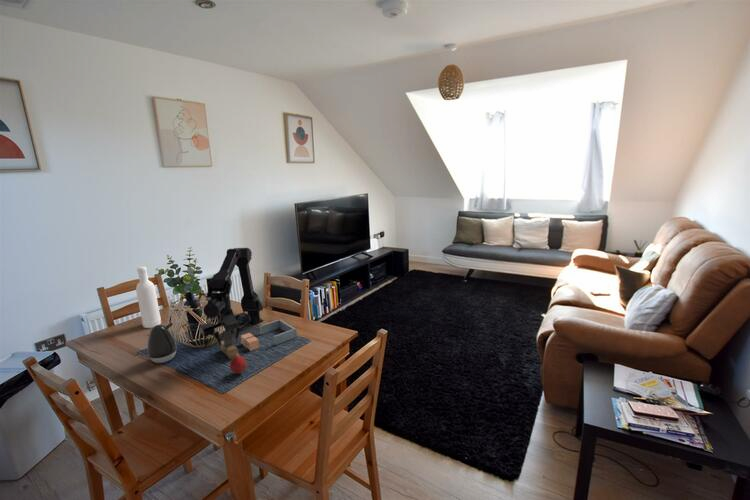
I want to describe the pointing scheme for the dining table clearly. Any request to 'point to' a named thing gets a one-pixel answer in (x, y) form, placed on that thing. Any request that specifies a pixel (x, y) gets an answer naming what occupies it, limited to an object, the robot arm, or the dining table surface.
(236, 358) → the onion
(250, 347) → the block
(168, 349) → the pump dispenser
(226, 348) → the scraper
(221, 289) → the robot arm
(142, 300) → the bottle
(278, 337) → the box
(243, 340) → the block
